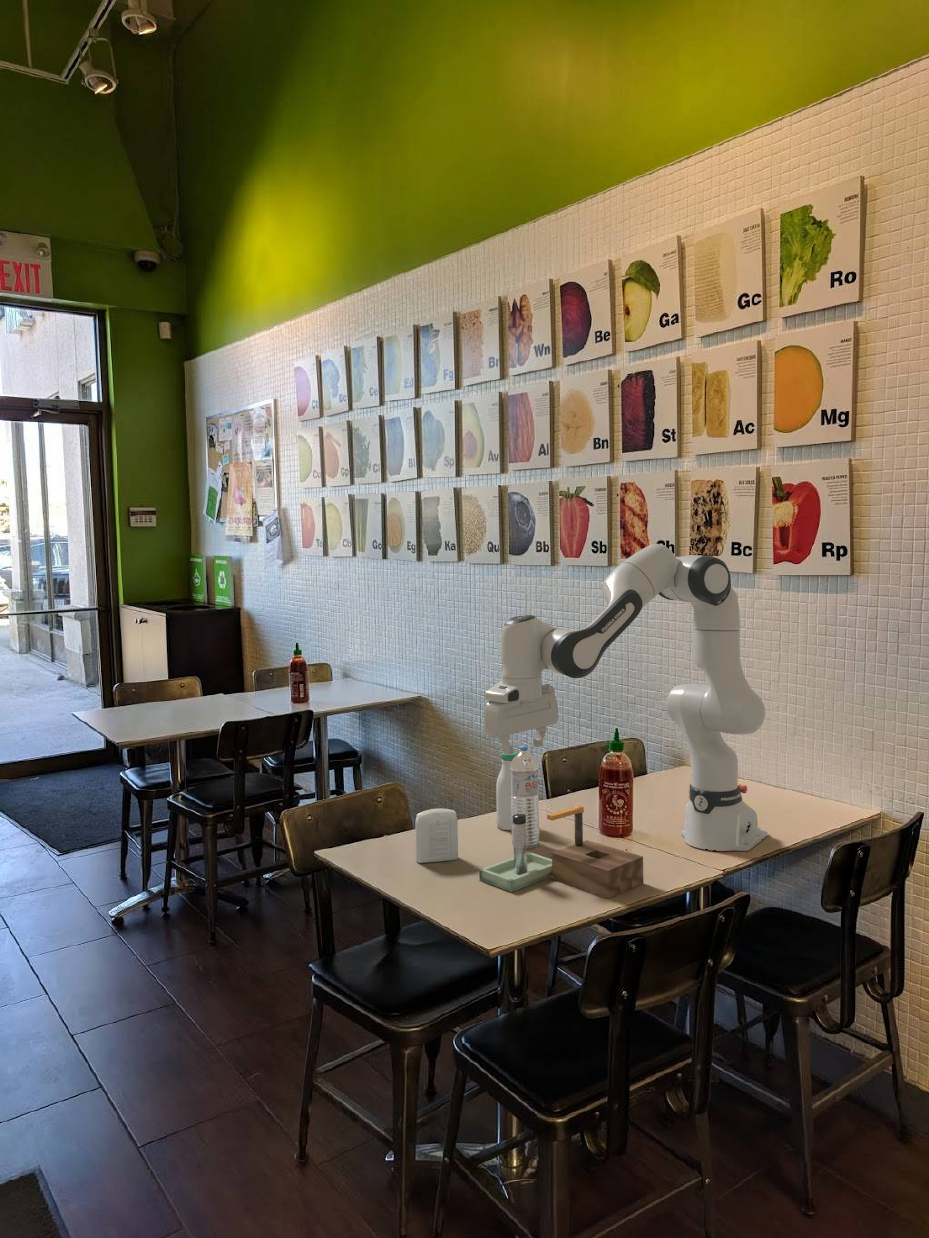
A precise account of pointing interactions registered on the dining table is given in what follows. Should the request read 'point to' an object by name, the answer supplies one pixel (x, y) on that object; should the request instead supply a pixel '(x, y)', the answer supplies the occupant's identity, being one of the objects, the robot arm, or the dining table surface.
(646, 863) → the dining table surface
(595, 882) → the block
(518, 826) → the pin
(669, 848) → the dining table surface
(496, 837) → the dining table surface
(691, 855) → the dining table surface
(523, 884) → the tray
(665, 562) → the robot arm
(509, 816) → the milk bottle
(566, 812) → the bar
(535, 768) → the water bottle
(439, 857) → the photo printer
